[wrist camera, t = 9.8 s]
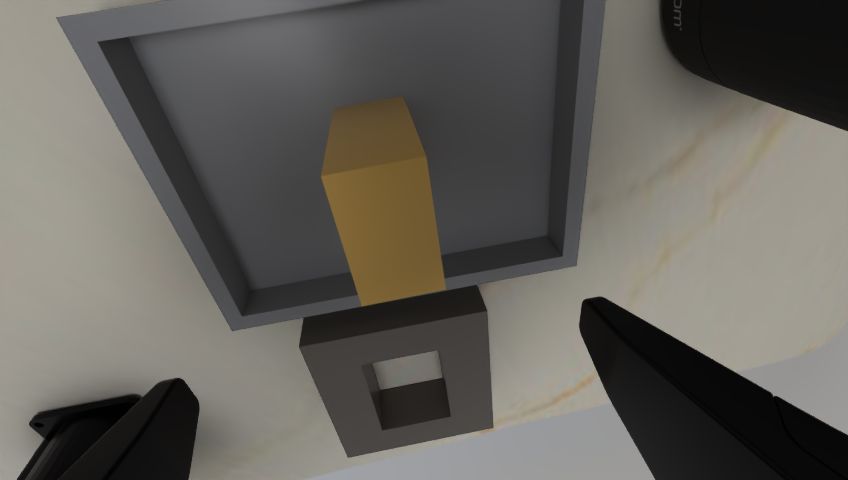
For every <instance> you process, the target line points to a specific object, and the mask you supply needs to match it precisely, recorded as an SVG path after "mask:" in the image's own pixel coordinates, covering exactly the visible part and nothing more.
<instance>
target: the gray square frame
mask: <svg viewBox="0 0 848 480" xmlns="http://www.w3.org/2000/svg"><path fill="white" fill-rule="evenodd" d="M299 348H300V350H301V353H302V355H303V357H304V359H305V362H306V364H307V366H308V369H309V371H310V373H311V375H312V378H313V380H314V382H315V384H316V387H317V389H318V391H319V393H320V396H321V398H322V400H323V402H324V405H325V407H326V409H327V411H328V414H329V416H330V418H331V420H332V423H333V425H334V427H335V429H336V432H337V434H338V436H339V438H340V441H341V443H342V445H343V447H344V450H345V452H346V454H347V457H348V458H349V457H354V456H359V455H363V454H368V453H373V452H378V451H383V450H388V449H393V448H397V447H402V446H407V445H412V444H417V443H422V442H426V441H431V440H436V439H441V438H446V437H451V436H456V435H460V434H465V433H470V432H475V431H480V430H485V429H490V428H493V411H492V392H491V373H490V354H489V335H488V315H487V309H486V306H485V304H484V301H483V299H482V296H481V294H480V291H479V288H478V286H477V285H472V286H467V287H462V288H457V289H451V290H446V291H441V292H436V293H430V294H425V295H420V296H414V297H409V298H404V299H399V300H393V301H388V302H383V303H377V304H372V305H367V306H362V307H356V308H351V309H346V310H341V311H335V312H330V313H325V314H319V315H314V316H309V317H304V319H303V326H302V332H301V338H300V344H299ZM435 350H438V351H439V357H440V364H441V370H442V376H443V378H442V379H437V380H432V381H427V382H422V383H417V384H412V385H407V386H402V387H397V388H392V389H387V390H382V391H380V389H379V385H378V382H377V379H376V375H375V372H374V369H373V366H372V363H374V362H379V361H384V360H389V359H394V358H399V357H404V356H410V355H415V354H420V353H425V352H430V351H435Z"/></svg>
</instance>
